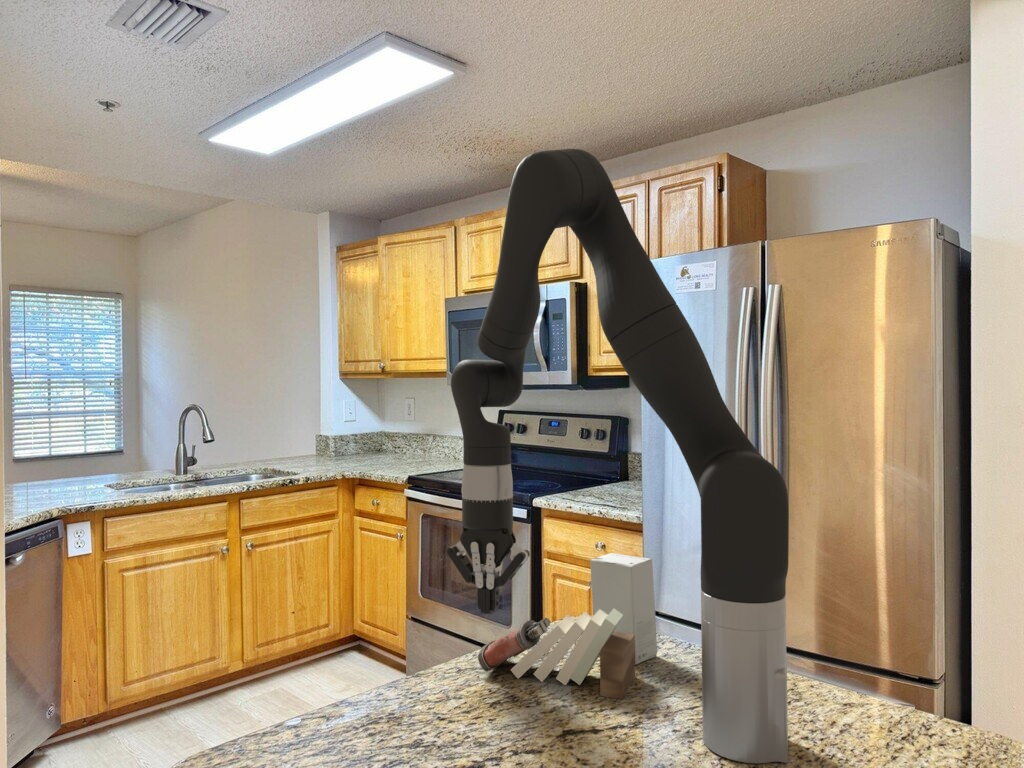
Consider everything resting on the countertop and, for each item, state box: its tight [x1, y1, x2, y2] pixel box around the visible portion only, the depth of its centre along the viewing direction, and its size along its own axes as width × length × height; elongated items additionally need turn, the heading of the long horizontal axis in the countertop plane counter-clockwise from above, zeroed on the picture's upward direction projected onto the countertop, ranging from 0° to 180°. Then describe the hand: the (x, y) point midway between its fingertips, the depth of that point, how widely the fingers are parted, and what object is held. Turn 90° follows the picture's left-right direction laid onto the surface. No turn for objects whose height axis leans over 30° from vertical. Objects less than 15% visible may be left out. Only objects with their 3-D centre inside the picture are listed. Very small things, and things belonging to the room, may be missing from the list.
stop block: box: [599, 632, 636, 700], centre depth 97 cm, size 3×8×6 cm, turn 159°
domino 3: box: [555, 609, 608, 686], centre depth 99 cm, size 2×5×10 cm, turn 158°
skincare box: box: [589, 552, 658, 665], centre depth 109 cm, size 8×6×15 cm
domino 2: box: [533, 611, 592, 683], centre depth 100 cm, size 2×5×10 cm
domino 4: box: [570, 608, 623, 686], centre depth 98 cm, size 2×5×10 cm, turn 158°
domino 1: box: [510, 614, 576, 680], centre depth 101 cm, size 2×5×10 cm
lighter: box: [477, 617, 551, 672], centre depth 103 cm, size 8×3×10 cm
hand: (488, 612), depth 104 cm, fingers closed
